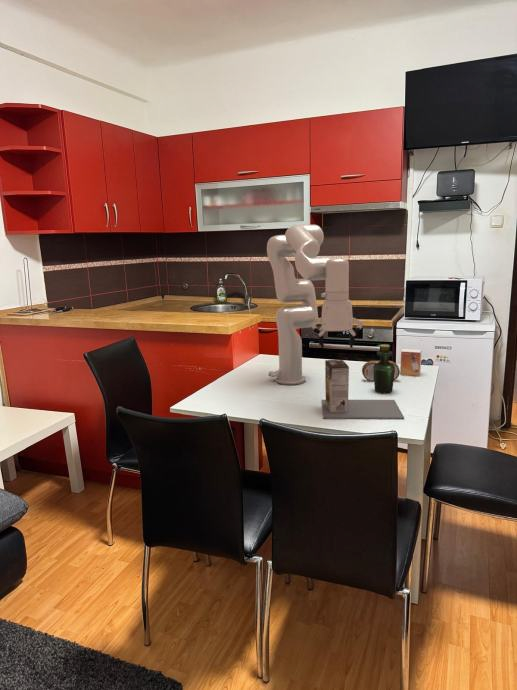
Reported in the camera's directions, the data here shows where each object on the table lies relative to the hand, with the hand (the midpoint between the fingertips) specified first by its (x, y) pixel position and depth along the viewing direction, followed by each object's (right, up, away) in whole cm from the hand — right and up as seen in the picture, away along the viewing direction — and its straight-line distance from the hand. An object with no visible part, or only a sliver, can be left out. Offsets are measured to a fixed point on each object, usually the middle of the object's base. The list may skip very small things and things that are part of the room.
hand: (336, 347), depth 165 cm
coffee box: (+1, -21, +5) cm, 22 cm away
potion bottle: (+22, -17, +23) cm, 36 cm away
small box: (+39, -12, +45) cm, 61 cm away
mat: (+9, -22, +4) cm, 24 cm away
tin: (+24, -14, +37) cm, 46 cm away
